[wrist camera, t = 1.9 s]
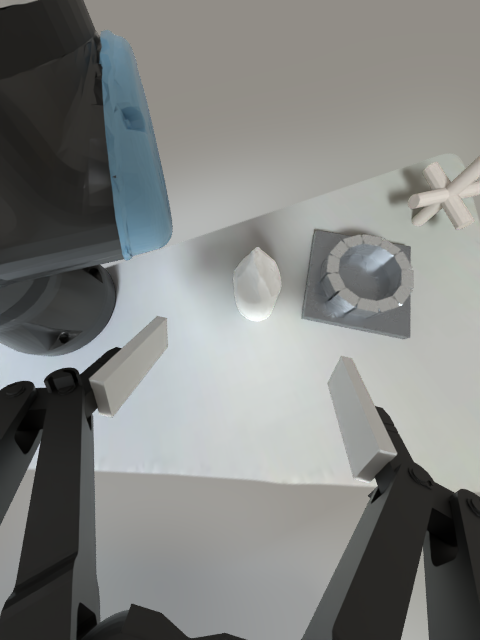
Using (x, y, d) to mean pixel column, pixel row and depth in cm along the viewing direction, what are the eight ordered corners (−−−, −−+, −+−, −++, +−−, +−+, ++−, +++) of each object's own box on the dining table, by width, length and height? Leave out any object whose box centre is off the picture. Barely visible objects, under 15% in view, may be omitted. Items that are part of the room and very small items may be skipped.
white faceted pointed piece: (302, 279, 18) (238, 293, 18) (278, 317, 30) (240, 326, 29) (282, 222, 20) (224, 234, 19) (267, 279, 31) (230, 287, 31)
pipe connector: (376, 202, 35) (427, 135, 25) (431, 191, 35) (503, 121, 26) (401, 254, 32) (470, 201, 22) (461, 241, 33) (554, 184, 23)
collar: (301, 318, 30) (309, 310, 26) (313, 235, 33) (322, 218, 30) (403, 339, 29) (426, 333, 25) (404, 251, 32) (424, 235, 29)
